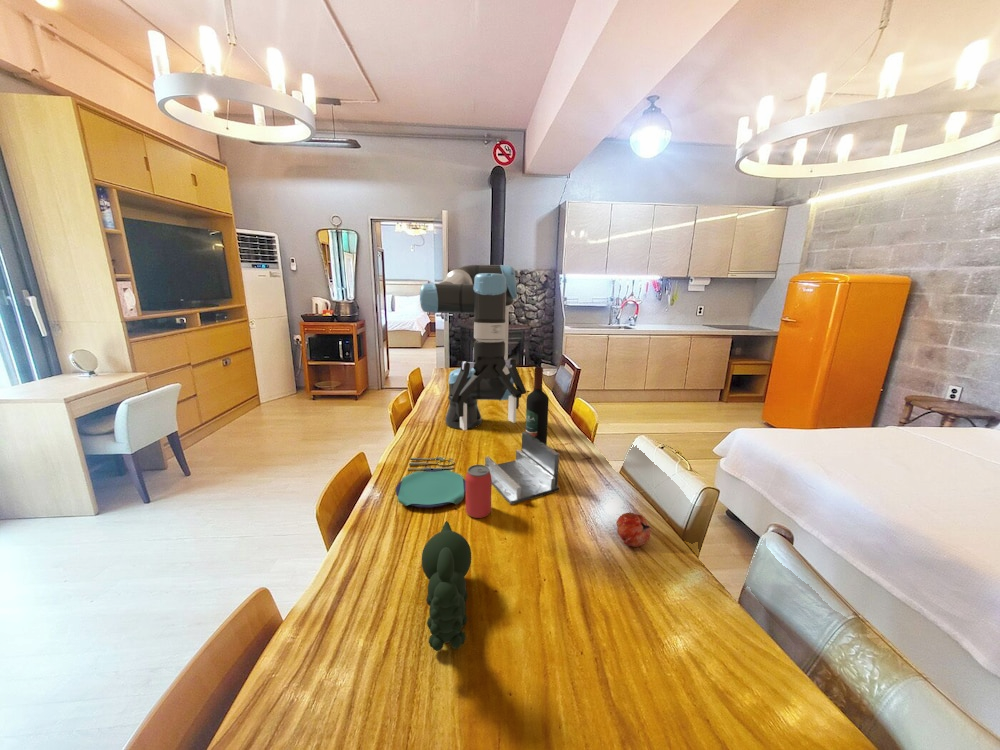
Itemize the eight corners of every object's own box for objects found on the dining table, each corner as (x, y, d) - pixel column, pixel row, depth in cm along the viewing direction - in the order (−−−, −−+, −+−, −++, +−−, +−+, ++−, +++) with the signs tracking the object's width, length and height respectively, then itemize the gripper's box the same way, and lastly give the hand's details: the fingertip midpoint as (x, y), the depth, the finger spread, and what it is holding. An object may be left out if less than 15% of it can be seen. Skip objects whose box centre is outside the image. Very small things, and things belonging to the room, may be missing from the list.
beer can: (487, 521, 92) (488, 477, 89) (462, 517, 93) (462, 474, 90) (493, 506, 98) (494, 465, 95) (469, 502, 100) (469, 462, 97)
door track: (479, 471, 116) (479, 438, 114) (523, 461, 123) (524, 430, 121) (510, 504, 99) (511, 467, 96) (559, 490, 106) (561, 455, 104)
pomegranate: (609, 550, 86) (639, 549, 78) (601, 516, 89) (629, 512, 81) (634, 544, 89) (665, 543, 81) (625, 512, 92) (654, 508, 84)
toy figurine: (478, 674, 58) (468, 550, 81) (479, 582, 52) (469, 477, 75) (416, 682, 56) (425, 554, 80) (410, 589, 50) (421, 479, 74)
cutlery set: (390, 515, 94) (390, 507, 94) (404, 461, 123) (404, 455, 123) (468, 511, 97) (468, 503, 96) (464, 459, 126) (464, 453, 125)
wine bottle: (547, 455, 128) (551, 370, 121) (525, 454, 128) (528, 370, 121) (545, 446, 135) (548, 365, 128) (524, 445, 135) (526, 365, 128)
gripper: (445, 343, 80) (446, 437, 84) (541, 340, 91) (538, 422, 95) (434, 340, 86) (435, 427, 90) (525, 337, 98) (522, 414, 102)
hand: (488, 424), depth 93 cm, fingers open, 13 cm apart
